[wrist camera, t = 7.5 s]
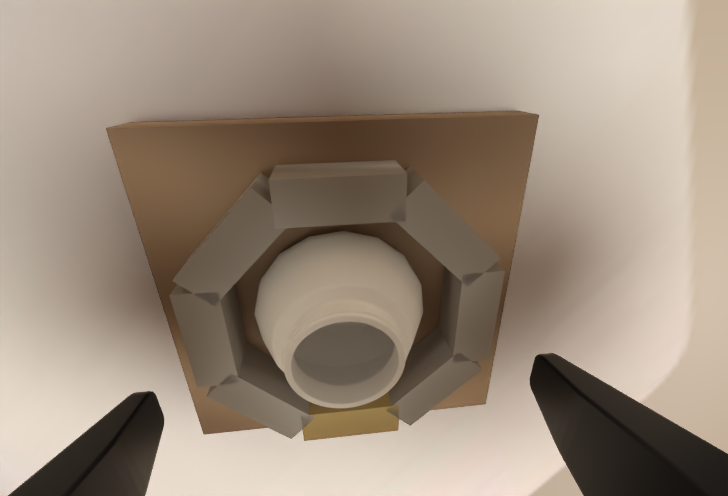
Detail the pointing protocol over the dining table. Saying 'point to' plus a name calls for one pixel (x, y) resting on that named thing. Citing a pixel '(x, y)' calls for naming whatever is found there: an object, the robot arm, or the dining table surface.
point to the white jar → (340, 317)
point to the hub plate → (322, 216)
